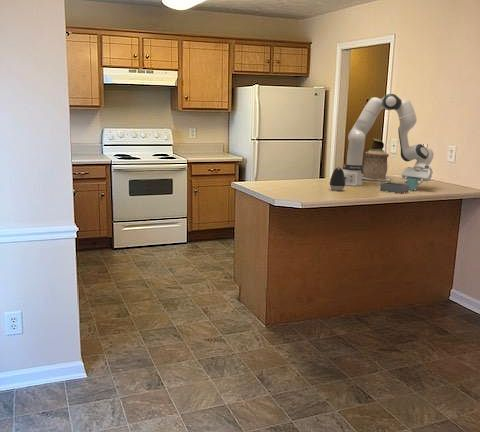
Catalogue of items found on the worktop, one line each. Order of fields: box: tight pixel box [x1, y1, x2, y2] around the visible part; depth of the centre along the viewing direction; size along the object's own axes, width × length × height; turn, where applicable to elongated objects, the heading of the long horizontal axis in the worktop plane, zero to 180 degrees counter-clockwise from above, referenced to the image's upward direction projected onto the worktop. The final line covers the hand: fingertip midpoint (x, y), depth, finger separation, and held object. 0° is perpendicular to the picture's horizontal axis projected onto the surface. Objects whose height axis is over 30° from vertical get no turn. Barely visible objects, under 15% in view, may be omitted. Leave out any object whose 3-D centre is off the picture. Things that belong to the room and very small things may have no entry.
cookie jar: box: [362, 137, 392, 182], centre depth 407 cm, size 25×25×32 cm
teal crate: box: [406, 178, 419, 190], centre depth 358 cm, size 6×5×8 cm
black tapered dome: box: [329, 166, 346, 192], centre depth 344 cm, size 10×10×15 cm
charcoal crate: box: [379, 181, 409, 194], centre depth 349 cm, size 12×15×5 cm
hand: (411, 183), depth 358 cm, fingers open, 8 cm apart
